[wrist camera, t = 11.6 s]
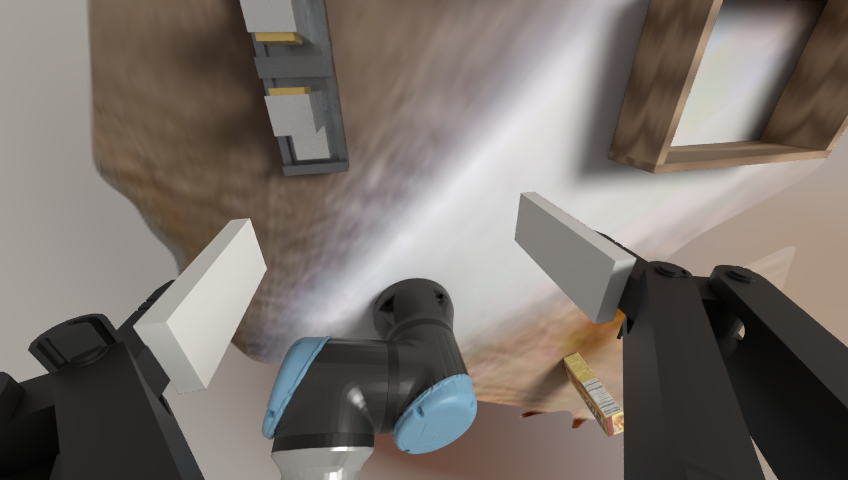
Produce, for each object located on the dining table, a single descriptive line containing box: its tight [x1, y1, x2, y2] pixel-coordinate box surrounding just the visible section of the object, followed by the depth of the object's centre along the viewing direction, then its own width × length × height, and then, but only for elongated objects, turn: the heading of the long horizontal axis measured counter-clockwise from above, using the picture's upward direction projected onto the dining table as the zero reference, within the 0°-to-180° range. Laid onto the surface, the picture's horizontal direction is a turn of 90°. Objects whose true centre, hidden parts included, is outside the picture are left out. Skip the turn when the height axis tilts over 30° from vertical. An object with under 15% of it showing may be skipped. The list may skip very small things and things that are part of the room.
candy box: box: [564, 352, 624, 437], centre depth 70 cm, size 9×4×15 cm, turn 23°
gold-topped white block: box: [264, 86, 331, 160], centre depth 34 cm, size 8×4×9 cm, turn 2°
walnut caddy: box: [608, 0, 848, 173], centre depth 43 cm, size 22×31×9 cm
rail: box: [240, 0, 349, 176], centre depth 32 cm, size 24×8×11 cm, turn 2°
